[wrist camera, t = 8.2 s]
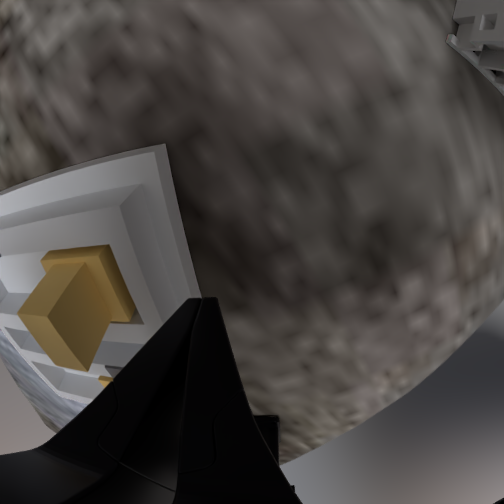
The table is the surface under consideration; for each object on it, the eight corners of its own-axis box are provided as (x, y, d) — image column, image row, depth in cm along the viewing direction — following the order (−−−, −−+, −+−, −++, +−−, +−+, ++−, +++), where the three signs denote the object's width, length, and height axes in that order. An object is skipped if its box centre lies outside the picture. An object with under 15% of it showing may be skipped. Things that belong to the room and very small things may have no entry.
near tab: (119, 227, 10) (59, 312, 6) (143, 290, 11) (107, 378, 8) (62, 235, 10) (2, 307, 6) (88, 291, 12) (46, 366, 8)
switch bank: (165, 143, 9) (129, 170, 7) (230, 389, 18) (227, 429, 15) (-29, 204, 10) (-61, 231, 8) (72, 373, 19) (59, 402, 16)
